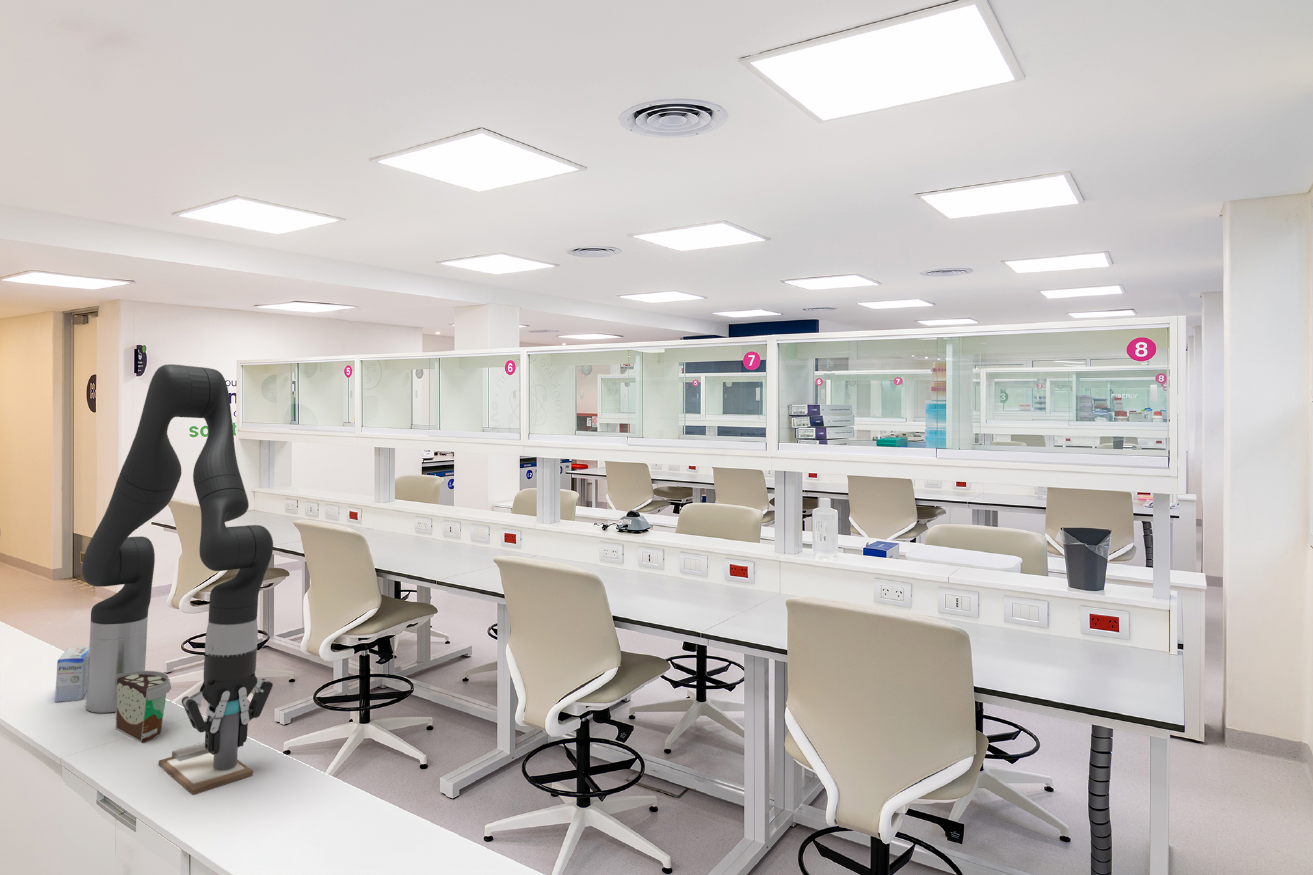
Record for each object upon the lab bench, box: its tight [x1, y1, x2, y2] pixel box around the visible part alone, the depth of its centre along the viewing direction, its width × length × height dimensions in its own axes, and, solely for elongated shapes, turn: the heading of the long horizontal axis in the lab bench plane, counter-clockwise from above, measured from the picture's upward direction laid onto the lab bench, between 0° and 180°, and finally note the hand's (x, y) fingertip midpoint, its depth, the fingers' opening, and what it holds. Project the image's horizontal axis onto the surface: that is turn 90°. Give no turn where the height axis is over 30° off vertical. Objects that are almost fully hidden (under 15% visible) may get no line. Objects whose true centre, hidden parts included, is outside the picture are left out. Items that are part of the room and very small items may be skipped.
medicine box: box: [54, 646, 89, 703], centre depth 150 cm, size 8×4×9 cm, turn 28°
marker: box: [213, 699, 240, 770], centre depth 123 cm, size 4×4×11 cm
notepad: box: [158, 741, 254, 796], centre depth 123 cm, size 14×9×2 cm, turn 52°
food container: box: [114, 670, 172, 744], centre depth 136 cm, size 12×6×10 cm, turn 59°
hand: (225, 748), depth 123 cm, fingers closed on marker, 3 cm apart
